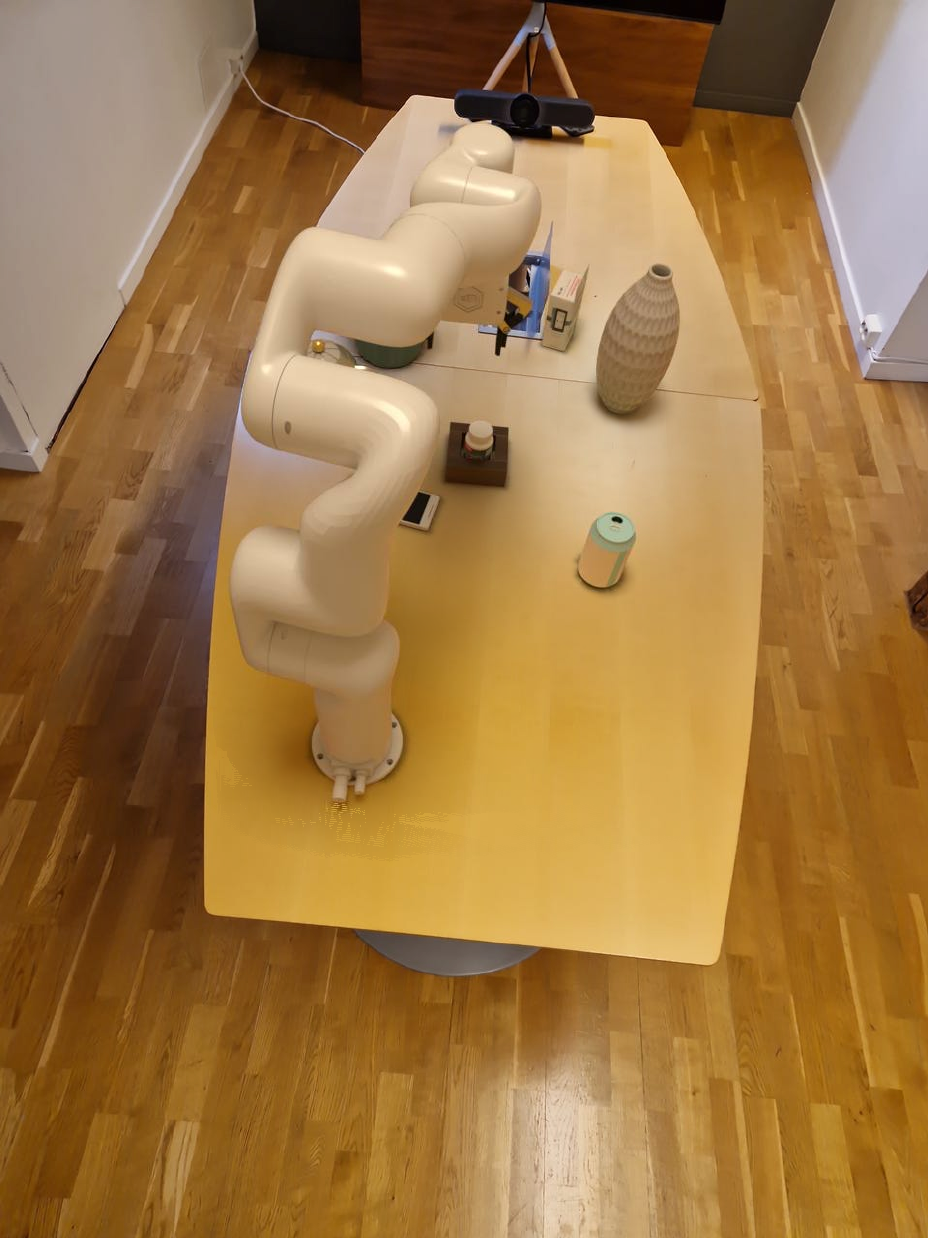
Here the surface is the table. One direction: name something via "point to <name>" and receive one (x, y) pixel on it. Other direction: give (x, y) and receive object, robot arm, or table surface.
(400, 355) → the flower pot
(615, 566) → the can
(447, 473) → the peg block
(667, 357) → the vase
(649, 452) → the table surface
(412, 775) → the table surface
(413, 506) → the smartphone
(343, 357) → the teapot
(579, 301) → the ink box
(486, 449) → the pill bottle
